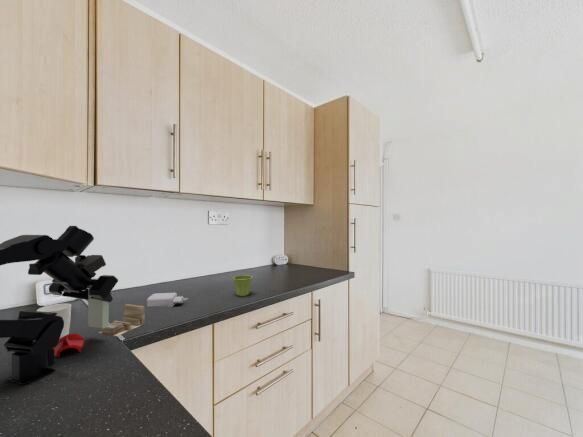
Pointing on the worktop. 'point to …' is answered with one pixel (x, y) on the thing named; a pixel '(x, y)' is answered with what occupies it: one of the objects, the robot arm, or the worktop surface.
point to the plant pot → (242, 284)
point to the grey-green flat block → (98, 312)
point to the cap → (69, 343)
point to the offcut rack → (131, 318)
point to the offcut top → (113, 326)
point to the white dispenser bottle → (164, 299)
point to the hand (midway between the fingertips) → (102, 299)
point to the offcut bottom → (113, 331)
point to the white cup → (62, 311)
